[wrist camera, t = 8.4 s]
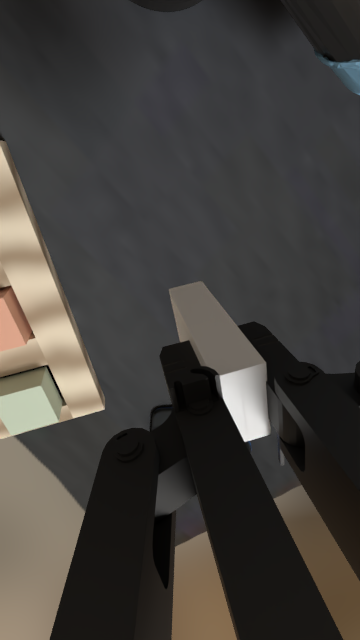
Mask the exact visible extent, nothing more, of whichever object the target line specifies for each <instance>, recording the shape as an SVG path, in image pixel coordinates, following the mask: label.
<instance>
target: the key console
mask: <svg viewBox="0 0 360 640" xmlns="http://www.w3.org/2000/svg"><path fill="white" fill-rule="evenodd" d="M10 285H11V286H12V288H13V290H14V292H15V294H16V297H17V299H18V301H19V303H20V305H21V307H22V309H23V312H24V314H25V316H26V318H27V320H28V322H29V324H30V327H31V329H32V332H31V335H30V337H29V339H28V342H27V344H26V345H24V346H20V347H16V348H12V349H8V350H5V351H1V352H0V379H1V378H3V376H7V375H11V374H14V373H18V372H22V371H26V370H29V369H33V368H37V367H41V366H44V365H49V367H50V370H51V372H52V374H53V376H54V378H55V380H56V382H57V385H58V387H59V389H60V391H61V393H62V396H60V397H61V399H62V401H63V402H62V408H61V413H60V419H59V422H62V421H66V420H69V419H73V418H76V417H80V416H83V415H87V414H90V413H94V412H97V411H101V410H104V409H105V397H104V395H103V392H102V390H101V387H100V384H99V382H98V379H97V377H96V374H95V371H94V369H93V366H92V364H91V361H90V359H89V356H88V353H87V351H86V348H85V346H84V343H83V340H82V338H81V335H80V333H79V330H78V327H77V325H76V322H75V320H74V317H73V315H72V312H71V309H70V307H69V304H68V302H67V299H66V296H65V294H64V291H63V289H62V286H61V283H60V281H59V278H58V276H57V273H56V271H55V268H54V265H53V263H52V260H51V258H50V255H49V252H48V250H47V247H46V245H45V242H44V239H43V237H42V234H41V232H40V229H39V226H38V224H37V221H36V219H35V216H34V214H33V211H32V208H31V206H30V203H29V201H28V198H27V195H26V193H25V190H24V188H23V185H22V182H21V180H20V177H19V175H18V172H17V170H16V167H15V164H14V162H13V159H12V157H11V154H10V151H9V149H8V146H7V144H6V141H1V140H0V288H2V287H6V286H10ZM59 422H57V423H59ZM53 424H55V423H53ZM50 425H52V424H50ZM46 426H48V425H46ZM43 427H45V426H43ZM39 428H41V427H39ZM36 429H38V428H36ZM32 430H34V429H32ZM29 431H31V430H29ZM25 432H27V431H25ZM22 433H24V432H22ZM18 434H20V433H18ZM15 435H17V434H15ZM9 436H13V435H10V433H9V431H8V430H7V428H6V426H5V425H4V423H3V422H2V420H1V418H0V439H2V438H6V437H9Z"/></svg>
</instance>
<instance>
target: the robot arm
mask: <svg viewBox="0 0 360 640" xmlns="http://www.w3.org/2000/svg"><path fill="white" fill-rule="evenodd" d="M130 1H132V2H133V3H135V4H137V5H139V6H141V7H144V8H147V9H150V10H154V11H160V12H174V11H180V10H184V9H187V8H189V7H192V6H194V5H196V4H197V3H199V2H201V1H202V0H130ZM280 1H281V2H282V3H283V5H284V6H285V8H286V9H287V10H288V12H289V13H290V15H291V16H292V18H293V19H294V20H295V22H296V23H297V25H298V26H299V27H300V29H301V30H302V32H303V33H304V35H305V36H306V37H307V39H308V40H309V42H310V43H311V44H312V46H313V48H314V51H315V55H316V56H317V58H318V59H319V60H320V61H321V62H322V63H324V64H325V65H328V66H329V67H330V68H331V69H332V70H333V71H334V73H335V74H336V75H337V76H338V78H339V79H340V80H341V81H342V82H343V84H344V85H345V86H346V87H347V88H348V89H349V90H350V91H352V92H354V93H356V94H358V95H360V0H280ZM169 293H170V297H171V302H172V306H173V311H174V316H175V320H176V325H177V330H178V334H179V339H180V343H176V344H173V345H169V346H165V347H163V348H162V351H161V354H160V360H161V364H162V368H163V372H164V376H165V380H166V384H167V387H168V391H169V395H170V398H171V402H172V406H173V407H172V411H171V414H170V415H169V417H168V418H167V420H166V421H165V422H164V423H163V424H161V425H160V426H159V427H157V428H155V429H154V430H152V431H150V432H149V431H147V430H145V429H143V428H131V429H127V430H123V431H121V432H120V433H118V434H116V435H114V436H113V437H112V438H111V439H110V440H109V441H108V442H107V444H106V446H105V448H104V450H103V452H102V455H101V459H100V462H99V466H98V469H97V473H96V477H95V480H94V484H93V487H92V491H91V494H90V498H89V501H88V505H87V509H86V512H85V516H84V520H83V523H82V526H81V530H80V534H79V537H78V540H77V544H76V548H75V551H74V555H73V558H72V562H71V565H70V569H69V573H68V576H67V580H66V583H65V587H64V590H63V594H62V597H61V601H60V604H59V608H58V611H57V615H56V619H55V622H54V626H53V629H52V633H51V636H50V640H171V635H172V608H173V582H174V554H175V529H176V509H177V508H179V507H180V506H181V505H183V504H184V503H185V502H187V501H188V500H189V499H191V498H192V497H194V496H195V495H196V494H197V497H198V501H199V504H200V508H201V511H202V515H203V519H204V522H205V526H206V529H207V533H208V537H209V540H210V544H211V547H212V551H213V555H214V558H215V562H216V565H217V569H218V573H219V576H220V580H221V583H222V587H223V590H224V594H225V598H226V601H227V605H228V608H229V612H230V616H231V619H232V623H233V627H234V630H235V634H236V637H237V640H343V638H342V636H341V634H340V632H339V630H338V628H337V626H336V624H335V622H334V620H333V618H332V616H331V614H330V612H329V610H328V608H327V606H326V604H325V602H324V600H323V598H322V596H321V594H320V592H319V590H318V588H317V586H316V584H315V582H314V580H313V578H312V576H311V574H310V572H309V570H308V568H307V566H306V564H305V562H304V560H303V558H302V556H301V554H300V552H299V550H298V548H297V546H296V544H295V542H294V540H293V538H292V536H291V534H290V532H289V530H288V528H287V526H286V524H285V522H284V520H283V518H282V516H281V514H280V512H279V510H278V508H277V506H276V504H275V502H274V500H273V498H272V496H271V494H270V492H269V490H268V488H267V486H266V484H265V482H264V480H263V478H262V476H261V474H260V472H259V470H258V468H257V466H256V464H255V462H254V460H253V458H252V456H251V454H250V452H249V450H248V448H247V446H246V444H245V442H247V441H250V440H253V439H256V438H260V437H263V436H266V435H269V434H271V428H270V422H271V423H272V425H273V426H274V428H275V430H276V431H277V438H278V457H279V462H280V465H281V466H282V465H284V456H285V458H286V459H287V461H288V463H289V464H290V466H291V468H292V469H293V471H294V473H295V474H296V476H297V478H298V479H299V481H300V483H301V484H302V486H303V487H304V489H305V491H306V492H307V494H308V496H309V498H310V499H311V501H312V502H313V504H314V506H315V507H316V509H317V511H318V512H319V514H320V516H321V517H322V519H323V521H324V522H325V524H326V526H327V527H328V529H329V531H330V532H331V534H332V536H333V537H334V539H335V541H336V542H337V544H338V546H339V547H340V549H341V551H342V552H343V554H344V556H345V557H346V559H347V561H348V562H349V564H350V565H351V567H352V569H353V571H354V572H355V574H356V575H357V577H358V579H359V580H360V361H359V362H358V363H357V364H356V369H355V373H343V374H325V373H324V372H323V371H322V370H321V369H320V368H318V367H317V366H315V365H313V364H310V363H306V362H299V361H298V360H297V359H296V358H295V357H294V356H293V355H292V354H291V353H290V352H289V351H288V350H287V349H286V348H285V347H284V346H283V345H282V343H281V342H280V341H278V339H277V338H276V337H275V336H274V335H272V333H271V332H270V331H269V330H268V329H267V328H266V327H265V326H263V325H261V324H258V323H256V322H250V323H247V324H243V325H239V326H237V325H236V324H235V323H234V321H233V320H232V319H231V318H230V316H229V315H228V314H227V313H226V311H225V310H224V309H223V308H222V306H221V305H220V304H219V303H218V301H217V300H216V299H215V297H214V296H213V295H212V294H211V292H210V291H209V290H208V289H207V287H206V286H205V285H204V284H203V282H202V281H199V282H195V283H191V284H187V285H183V286H179V287H175V288H171V289H169Z"/></svg>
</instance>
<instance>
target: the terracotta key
mask: <svg viewBox="0 0 360 640" xmlns="http://www.w3.org/2000/svg"><path fill="white" fill-rule="evenodd" d="M31 332H32V329H31V327H30V324H29V322H28V320H27V318H26V316H25V314H24V312H23V309H22V307H21V305H20V303H19V301H18V299H17V297H16V294H15V292H14V290H13V288H12V286H11V285H10V286H6V287H2V288H0V352H1V351H5V350H8V349H12V348H16V347H20V346H24V345H26V344H27V342H28V339H29V337H30V335H31Z"/></svg>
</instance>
